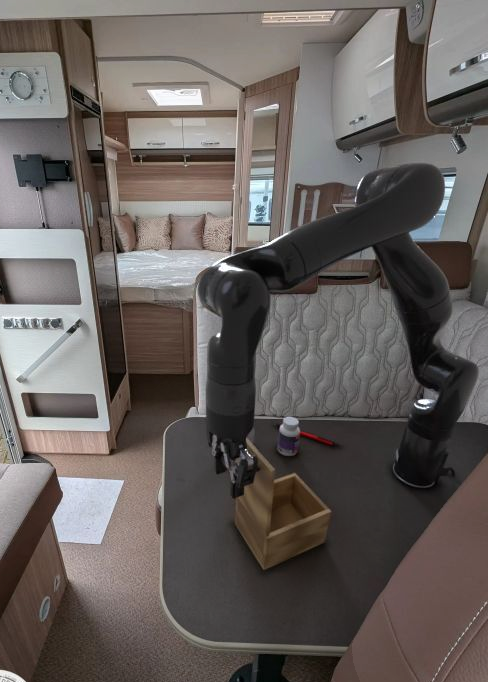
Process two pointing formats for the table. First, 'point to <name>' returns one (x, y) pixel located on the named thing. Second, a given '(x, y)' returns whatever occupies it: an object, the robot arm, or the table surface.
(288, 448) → the pill bottle
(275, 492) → the chest
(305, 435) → the pen
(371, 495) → the table surface
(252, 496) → the lid
